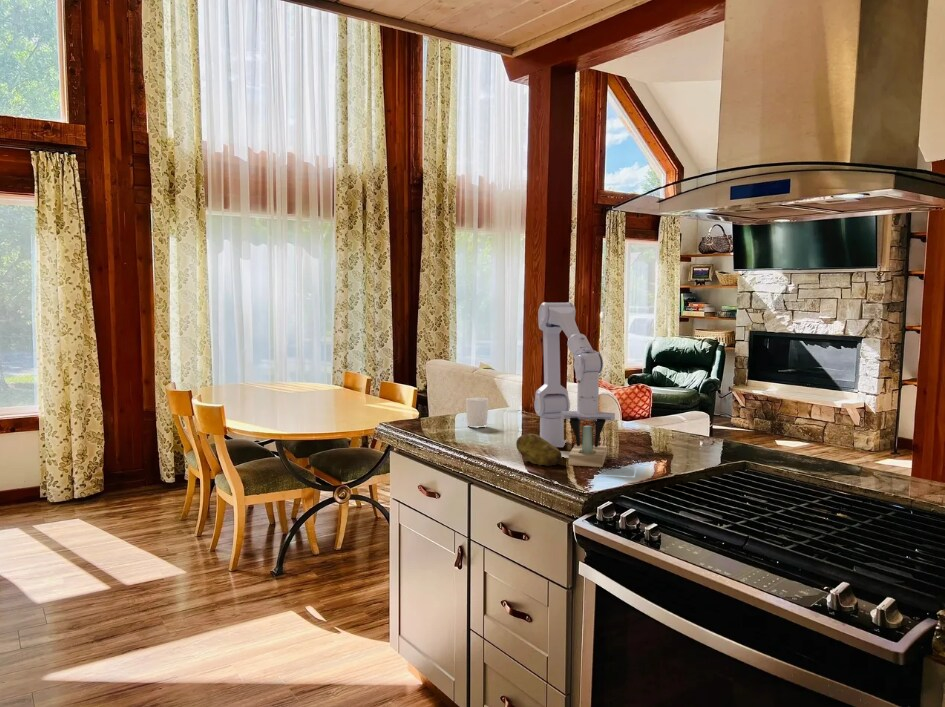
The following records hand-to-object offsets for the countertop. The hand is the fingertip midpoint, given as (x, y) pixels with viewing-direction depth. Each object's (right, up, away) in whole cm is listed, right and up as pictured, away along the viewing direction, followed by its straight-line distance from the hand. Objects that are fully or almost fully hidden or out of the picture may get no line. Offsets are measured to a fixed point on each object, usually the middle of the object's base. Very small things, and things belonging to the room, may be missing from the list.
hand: (587, 445), depth 195 cm
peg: (0, -5, 0) cm, 5 cm away
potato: (-14, -5, -1) cm, 15 cm away
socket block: (0, -5, +2) cm, 5 cm away
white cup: (-30, -1, +55) cm, 62 cm away
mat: (-5, -4, +9) cm, 12 cm away
